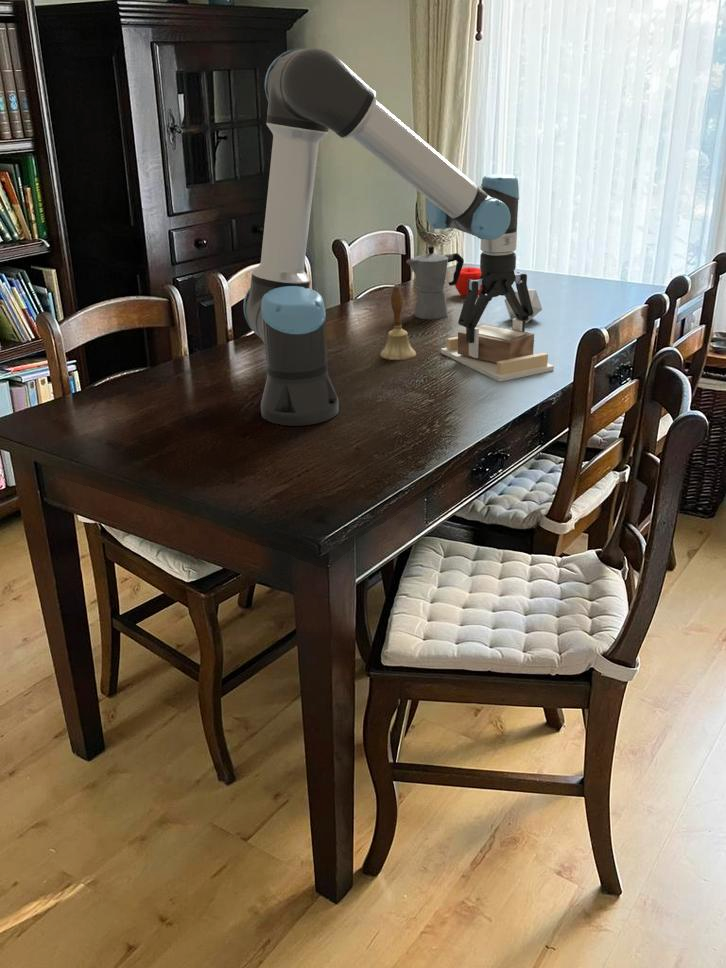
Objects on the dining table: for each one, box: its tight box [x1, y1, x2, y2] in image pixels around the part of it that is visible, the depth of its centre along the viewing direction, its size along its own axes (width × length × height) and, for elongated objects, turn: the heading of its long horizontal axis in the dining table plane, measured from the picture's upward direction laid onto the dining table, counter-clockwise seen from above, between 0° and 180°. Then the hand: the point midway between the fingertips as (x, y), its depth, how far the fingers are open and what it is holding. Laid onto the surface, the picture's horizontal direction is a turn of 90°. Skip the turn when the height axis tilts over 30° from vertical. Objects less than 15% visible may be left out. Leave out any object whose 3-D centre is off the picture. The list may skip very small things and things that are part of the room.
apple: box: [453, 266, 482, 298], centre depth 253 cm, size 9×9×8 cm
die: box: [504, 287, 543, 324], centre depth 229 cm, size 8×9×10 cm
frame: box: [457, 323, 535, 363], centre depth 199 cm, size 9×14×5 cm, turn 46°
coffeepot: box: [406, 245, 465, 320], centre depth 235 cm, size 15×9×18 cm, turn 103°
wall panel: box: [440, 335, 555, 382], centre depth 200 cm, size 14×24×4 cm, turn 26°
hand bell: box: [379, 285, 417, 361], centre depth 204 cm, size 8×8×16 cm
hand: (495, 352), depth 200 cm, fingers closed on frame, 11 cm apart
